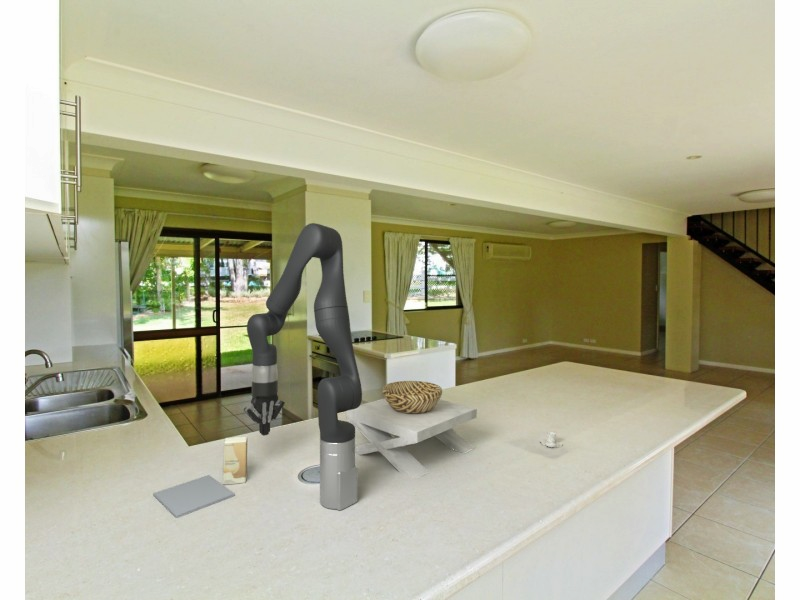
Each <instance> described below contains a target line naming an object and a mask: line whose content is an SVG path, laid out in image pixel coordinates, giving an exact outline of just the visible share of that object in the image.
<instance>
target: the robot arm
mask: <svg viewBox="0 0 800 600" xmlns="http://www.w3.org/2000/svg"><path fill="white" fill-rule="evenodd" d="M343 253H344V250H343V241H342V237H341V234H340V233H339V231H338V230H336V229H335V228H333V227H329V226H326V225H323V224H320V223H315V222H311V223H308V224H306V225H305V226H304V227H303V228H302V230H301V231H300V233H299V234H298V237H297V239H296V241H295V243H294V246H293V249H292V250H291V253H290V256H289V257H288V259H287V263H286V266H285V267H284V270H283V272H282V274H281V277H280V278H279V279H278V281H277V283H276V284H275V286H274V288H273V289H272V291H271V292H270V294H269V296H268V297H267V299H266V301H265V307H266V309H267V310H268V311H267V312H265V313H264V312H262V313H255V314H252V315H251V316H250V317H249V319H248V321H247V323H246V332H247V336H248V340H249V344H250V346H251V350H252V367H251V395H252V396H251V400H250V404H249V405H248V407H247V406H245V407H244V408H243V412H245V413H246V414H247V416H248V417H250V419H251V420H252V421H253V422H254V423H256V424H259V426H258V427H259V428H258V429H259V434H261V436H263V437H264V436H268V435H270V432H271V422H272V421H273V420H276V419H277V417H278V415H279V414H280V412H281V410H282V408H283V407H284V405H285V401H284V400H281V399H279V396H278V391H279V390H278V389H279V386H278V385H279V382H278V379H279V376H278V375H279V374H278V373H279V371H278V362H277V361H278V355H277V354H278V351H277V350H278V349H277V346H276V345H275V344H273V343H269V341H268V337H270V336H274V335H277V334H278V333H279V332H280V331H281V330H282V329H283V327H284V324H285V322H286V319H287V316H288V312H289V310H291V308H292V307H293V304H295V302H296V301H297V298H298V297H299V295H300V293H301V290H302V280H303V279H302V278H303V272H304V269H305V268H306V266H307V264H308V263H309V262H310V261H311V260H312V259H313V258H315V259H319V261H320V267H321V280H320V281H321V282H320V285H319V288H318V290H317V293H316V295H315V299H314V302H313V312H314V323H315V327H316V330H317V333H318V335H319V337H320V338H321V340H322V341H323V342H324V343H325V345H326V346H327V347H328V348H329V350H330V351H331V352H332V354H333V356H334V357H335V359H336V361H337V364H338V368H339V372H340V375H338V376H332V377H325V378H322V379H321V380H320V381H319V383H318V385H317V391H316V392H317V394H316V395H317V400H316V401H317V412H318V413H317V414H318V418H317V419H318V427H319V503H320V505H321V506H322V507H324V508H326V509H331V510H337V511H342V510H344V509H346V508H348V507H349V506H351V505H354V504H356V503H357V502H358V470H359V469H358V466H356V453H355V447H356V427H355V426H354V425H353V424H352V423H351V422H350V421H345V420H341V419H340V420H339V417H338V413H342V412H347V411H348V410H353V409H356V408H358V407H359V406H360V405H362V401H363V389H362V383H361V378H360V374H359V370H358V369H359V368H358V365H357V360H356V357H355V352H354V345H353V338H352V331H351V330H352V329H351V322H350V321H351V320H350V313H349V306H348V300H347V299H348V298H347V295H346V294H347V293H346V284H345V275H344V255H343ZM255 411H256V413H255Z"/></svg>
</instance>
